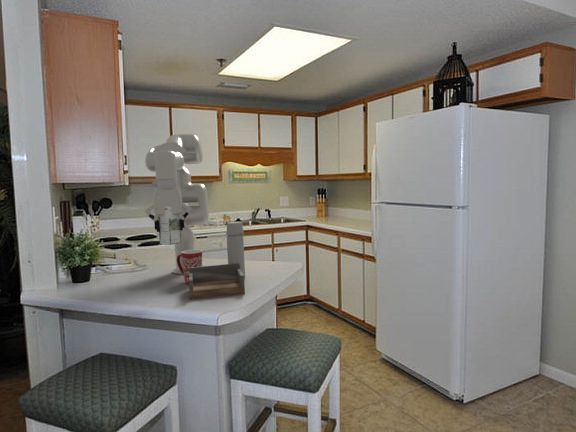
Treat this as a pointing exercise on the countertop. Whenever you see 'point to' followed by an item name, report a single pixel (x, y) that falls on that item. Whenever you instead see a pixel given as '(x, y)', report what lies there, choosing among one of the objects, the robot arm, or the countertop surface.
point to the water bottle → (235, 244)
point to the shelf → (216, 281)
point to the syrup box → (169, 228)
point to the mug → (189, 262)
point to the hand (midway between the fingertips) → (170, 230)
